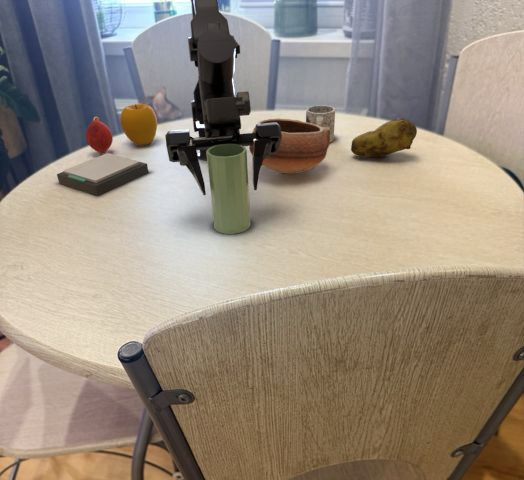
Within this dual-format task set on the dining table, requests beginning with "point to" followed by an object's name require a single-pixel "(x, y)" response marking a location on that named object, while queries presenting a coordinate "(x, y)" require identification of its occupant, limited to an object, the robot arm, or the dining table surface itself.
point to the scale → (102, 173)
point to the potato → (385, 139)
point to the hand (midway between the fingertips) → (230, 191)
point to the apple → (139, 123)
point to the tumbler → (229, 187)
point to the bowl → (297, 146)
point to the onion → (99, 136)
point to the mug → (322, 117)
